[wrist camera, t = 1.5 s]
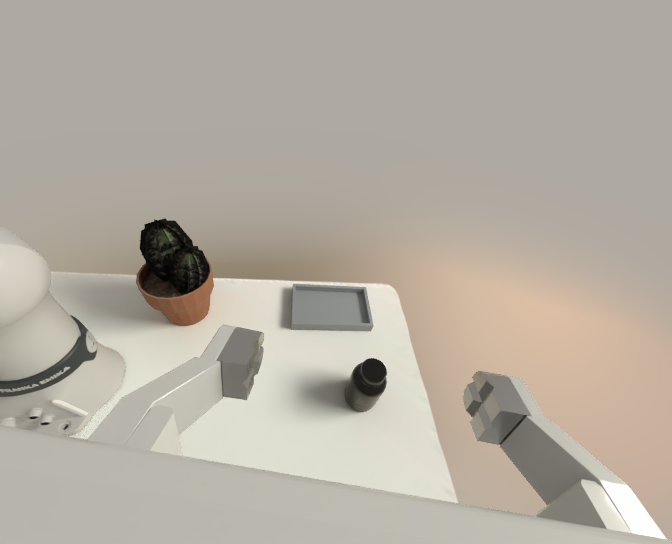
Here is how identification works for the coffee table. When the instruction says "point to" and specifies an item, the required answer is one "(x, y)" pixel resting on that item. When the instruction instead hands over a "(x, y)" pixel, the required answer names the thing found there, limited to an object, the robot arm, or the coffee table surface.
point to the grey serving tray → (330, 308)
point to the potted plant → (174, 273)
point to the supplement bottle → (366, 384)
